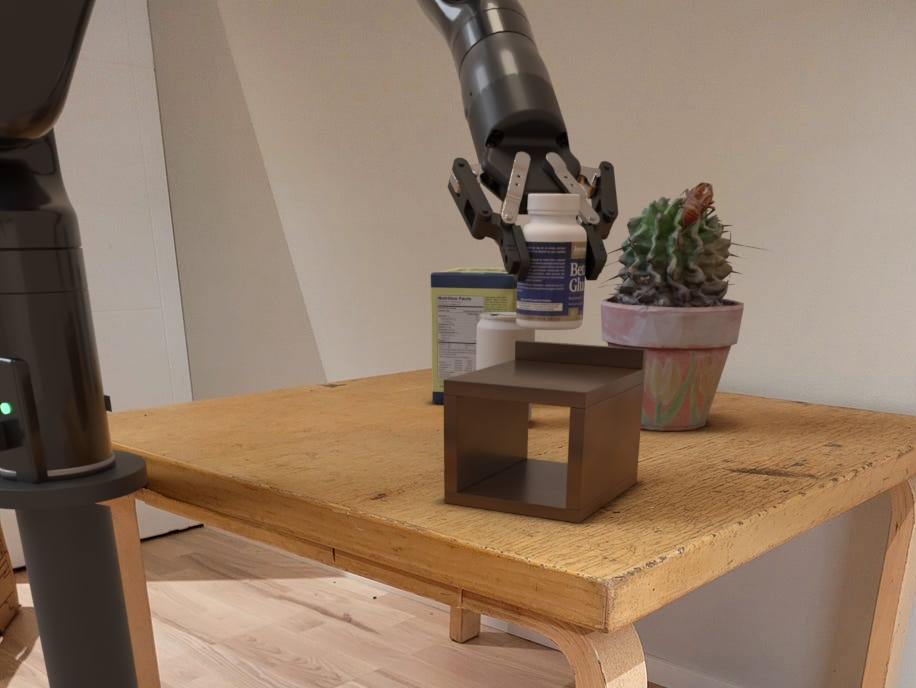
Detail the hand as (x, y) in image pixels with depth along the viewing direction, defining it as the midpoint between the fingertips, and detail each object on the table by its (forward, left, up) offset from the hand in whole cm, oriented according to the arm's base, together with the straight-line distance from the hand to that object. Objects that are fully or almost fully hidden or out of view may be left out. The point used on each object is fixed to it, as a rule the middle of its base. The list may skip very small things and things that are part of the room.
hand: (560, 272), depth 74 cm
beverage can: (+26, +17, -18) cm, 36 cm away
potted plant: (+36, +2, -18) cm, 40 cm away
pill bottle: (+1, +1, -4) cm, 5 cm away
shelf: (+1, +1, -18) cm, 18 cm away
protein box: (+41, +27, -18) cm, 53 cm away
